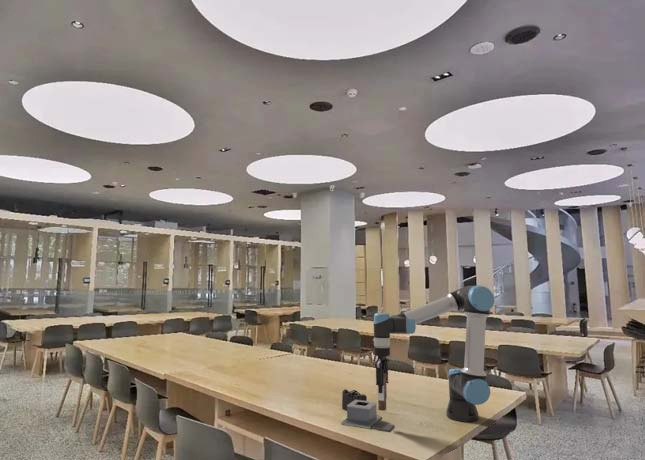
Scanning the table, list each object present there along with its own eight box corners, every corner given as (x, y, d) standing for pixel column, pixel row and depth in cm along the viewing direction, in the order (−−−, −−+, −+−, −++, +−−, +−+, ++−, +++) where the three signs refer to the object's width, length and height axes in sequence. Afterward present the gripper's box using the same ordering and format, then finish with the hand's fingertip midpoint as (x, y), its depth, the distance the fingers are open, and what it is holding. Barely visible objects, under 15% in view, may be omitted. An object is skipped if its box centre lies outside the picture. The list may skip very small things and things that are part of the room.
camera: (374, 409, 211) (374, 390, 212) (363, 414, 203) (362, 394, 204) (351, 405, 220) (351, 385, 221) (340, 409, 211) (340, 389, 213)
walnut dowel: (387, 408, 186) (386, 372, 188) (385, 410, 182) (384, 374, 185) (379, 407, 187) (379, 372, 190) (377, 409, 184) (377, 373, 186)
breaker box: (381, 417, 198) (381, 400, 199) (370, 428, 182) (369, 410, 183) (354, 413, 204) (354, 397, 205) (341, 424, 188) (341, 406, 189)
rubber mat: (394, 426, 186) (394, 424, 186) (389, 431, 178) (389, 430, 178) (377, 423, 189) (377, 422, 189) (372, 429, 182) (372, 427, 182)
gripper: (379, 344, 198) (379, 394, 194) (368, 348, 183) (368, 402, 180) (394, 345, 195) (395, 395, 191) (384, 349, 180) (385, 404, 176)
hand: (382, 398), depth 185 cm, fingers closed on walnut dowel, 3 cm apart
